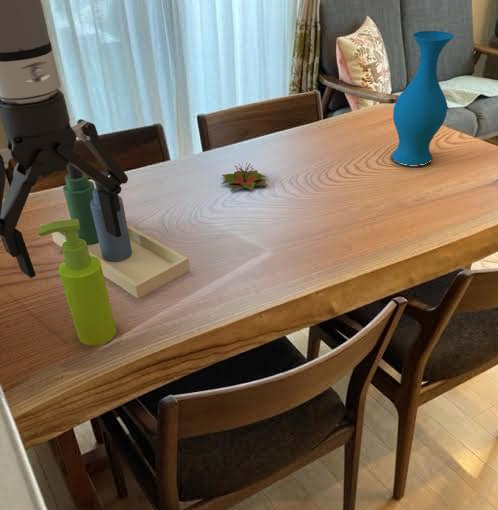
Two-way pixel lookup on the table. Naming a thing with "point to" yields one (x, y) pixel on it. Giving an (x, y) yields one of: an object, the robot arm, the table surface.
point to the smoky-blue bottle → (109, 244)
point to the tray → (139, 263)
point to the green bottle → (80, 203)
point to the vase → (421, 103)
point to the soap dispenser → (83, 285)
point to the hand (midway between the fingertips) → (73, 252)
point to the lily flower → (244, 179)
